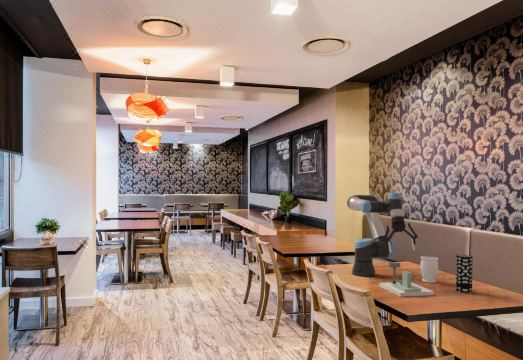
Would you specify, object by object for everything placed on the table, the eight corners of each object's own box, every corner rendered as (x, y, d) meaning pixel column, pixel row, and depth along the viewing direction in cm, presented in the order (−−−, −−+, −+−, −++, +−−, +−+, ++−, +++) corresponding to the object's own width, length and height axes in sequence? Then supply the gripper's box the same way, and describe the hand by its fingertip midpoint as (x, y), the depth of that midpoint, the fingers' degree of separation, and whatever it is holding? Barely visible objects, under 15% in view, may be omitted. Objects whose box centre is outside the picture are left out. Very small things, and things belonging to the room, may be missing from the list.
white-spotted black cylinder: (465, 293, 229) (466, 257, 229) (452, 290, 236) (453, 255, 236) (475, 292, 232) (475, 256, 233) (462, 288, 240) (462, 254, 240)
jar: (439, 283, 251) (440, 259, 252) (421, 282, 253) (422, 258, 254) (436, 279, 262) (436, 256, 262) (418, 278, 264) (419, 255, 264)
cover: (392, 286, 233) (393, 269, 233) (408, 286, 236) (408, 269, 236) (404, 292, 222) (404, 274, 222) (421, 291, 224) (421, 273, 224)
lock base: (379, 286, 242) (379, 282, 242) (409, 285, 247) (409, 281, 247) (400, 296, 220) (400, 292, 220) (433, 295, 224) (433, 290, 224)
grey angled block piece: (388, 282, 242) (388, 262, 242) (397, 282, 243) (397, 262, 243) (397, 286, 232) (398, 266, 232) (407, 286, 233) (407, 265, 233)
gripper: (375, 218, 257) (379, 252, 249) (417, 212, 246) (423, 247, 239) (378, 221, 263) (382, 254, 256) (419, 215, 253) (425, 250, 245)
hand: (402, 251), depth 247 cm, fingers open, 13 cm apart
